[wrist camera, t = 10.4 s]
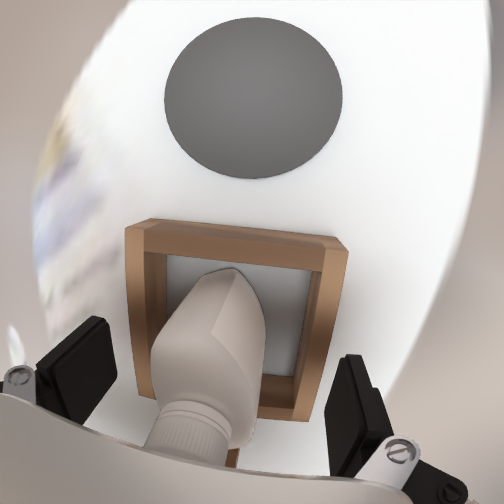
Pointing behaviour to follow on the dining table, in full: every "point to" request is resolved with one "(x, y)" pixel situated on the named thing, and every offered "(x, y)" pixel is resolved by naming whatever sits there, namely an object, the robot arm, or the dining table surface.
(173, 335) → the eye dropper bottle
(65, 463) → the robot arm
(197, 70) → the mat
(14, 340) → the dining table surface
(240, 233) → the wooden frame with post
